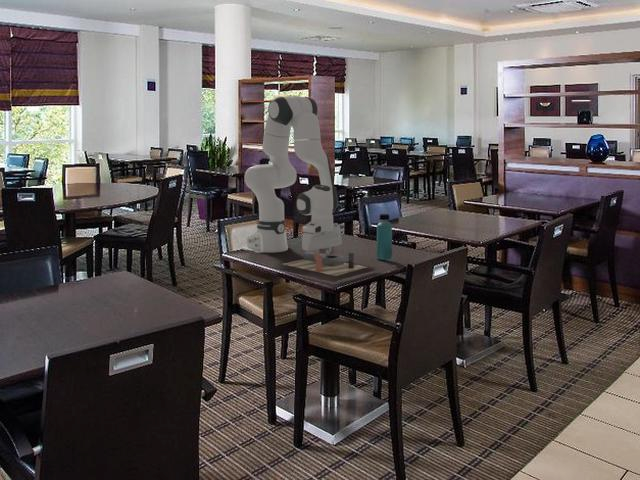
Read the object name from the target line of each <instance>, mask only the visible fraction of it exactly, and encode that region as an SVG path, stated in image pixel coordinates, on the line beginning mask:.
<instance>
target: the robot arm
mask: <svg viewBox="0 0 640 480" xmlns="http://www.w3.org/2000/svg"><path fill="white" fill-rule="evenodd" d="M267 111H268V115H267V118H266V122H265V126H264V131H263V132H264V133H263V139H262V151H263V152H264V154H265V155H266V156H268V157H269V164H268V163H266V164H257V165H253V166H250V167H248V168H247V169H246V171H245V172H244V183H245V185H246V187H248V189H250V190H251V191H252V192H253V193H254V195H255V197H256V200H257V202H258V214H259V215H258V216H259V219H258V220H257V221H256V220H255V225H256V228H255V229H254V230H253V231H252V232H251V233H250V234H248V235H247V237H246V245H244V246H241V250H244V251H251V252H253V253H254V252H255V253H256V254H257V253H260V254H261V253H281V252H286V251H288V249H289V246H288V240H287V232H286V219H285V203H284V201H283V200H282V199H281V198H280V197H278V196H277V194H276V191H275V189H284V188H287V187H290V186H292V185H294V184H295V183H296V181H297V176H298V174H297V170H296V168H295V167H294V166H293V164H291V162H290V159H289V145H290V144H289V143H290V137H291V128H292V129H293V148H294V149H293V150H294V153H295V155H296V156H297V157H298V158H299V159H300V160H301V161H303V162H304V163H307V164H309V165H312V166H313V167H314V168H316V170H317V172H318V177H319V181H320V184H315V185H313V186H312V188H311V189H309V190H307V191H303V192H300V193H299V194H298V196H297V197H296V200H295V207H296V210H297V211H298V213H299V214H301V215H303V216H311V220H310V221H309V222H307V223H306V224H304V225H302V227H301V228H302V229H301V230H302V232H303V234H302V236H301V248H302V250H303V252H310V251H311V252H314V254H319V253H320V250H323V249H325V253H324V254H327V255H331V254H330V253H331V252H332V247H337V246H341V245H342V242H343V241H342V240H343V239H342V231H341V226H340V224H339V223H337V222H334V216H333V214H334V212H335V211H336V210H337V208H338V206H339V198H338V195H337V192H336V189H335V183H334V177H333V173H332V168H331V167H332V166H331V161H330V158H329V156H328V153H327V152H325V150H324V149H323V145H322V140H321V136H322V135H321V129H320V128H321V127H320V123H319V119H318V116H317V115H318V104H317V102H316V101H315V99H313V98H311V97H310V96H299V95H291V96H277V97H274V98H272V99H271V100H270V101H269V103H268V107H267Z"/></svg>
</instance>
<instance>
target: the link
mask: <svg viewBox="0 0 640 480" xmlns="http://www.w3.org/2000/svg"><path fill="white" fill-rule="evenodd" d="M318 253H319V254H320V255H321V256H322V265H326V266H331V267H334V266H338V265H342V264H344V263H345V256H342V255H337V254H329V255H327V254H325V253H321V252H318ZM303 259H304V260H308V261H313V262H316V260H315V258H314V252H313V251H310V252H307V251H303Z"/></svg>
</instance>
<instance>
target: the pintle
mask: <svg viewBox="0 0 640 480" xmlns="http://www.w3.org/2000/svg"><path fill="white" fill-rule="evenodd" d="M354 257H355V253H354V252H348V263H349V268H350V269H353V268H354V265H355V264H354V263H355V262H354V260H355V258H354Z"/></svg>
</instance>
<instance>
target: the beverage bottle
mask: <svg viewBox="0 0 640 480" xmlns="http://www.w3.org/2000/svg"><path fill="white" fill-rule="evenodd" d="M378 219H379V220H381V221H379V222H378V223H377V224H376V258H377V259H378V260H382V261H383V260H384V261H386V260H387V261H388V260H389V261H390V260H391V259H392V258H393V225H392V223H390V222H389V221H388V220H390V214H389V213H381V214H379V218H378ZM385 220H386V221H385Z"/></svg>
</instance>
